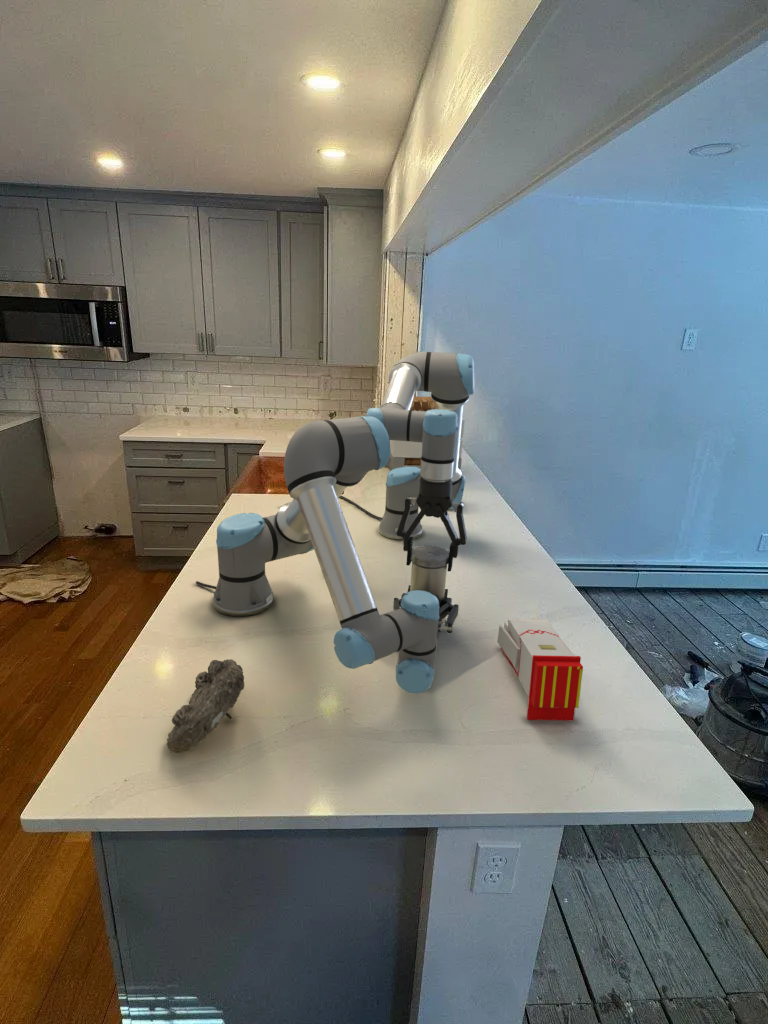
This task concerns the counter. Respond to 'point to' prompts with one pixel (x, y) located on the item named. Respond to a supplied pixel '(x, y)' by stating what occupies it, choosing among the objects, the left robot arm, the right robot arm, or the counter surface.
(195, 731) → the fossil
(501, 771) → the counter surface
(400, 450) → the white wooden box
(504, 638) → the toy
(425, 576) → the jar
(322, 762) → the counter surface
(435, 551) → the lid
